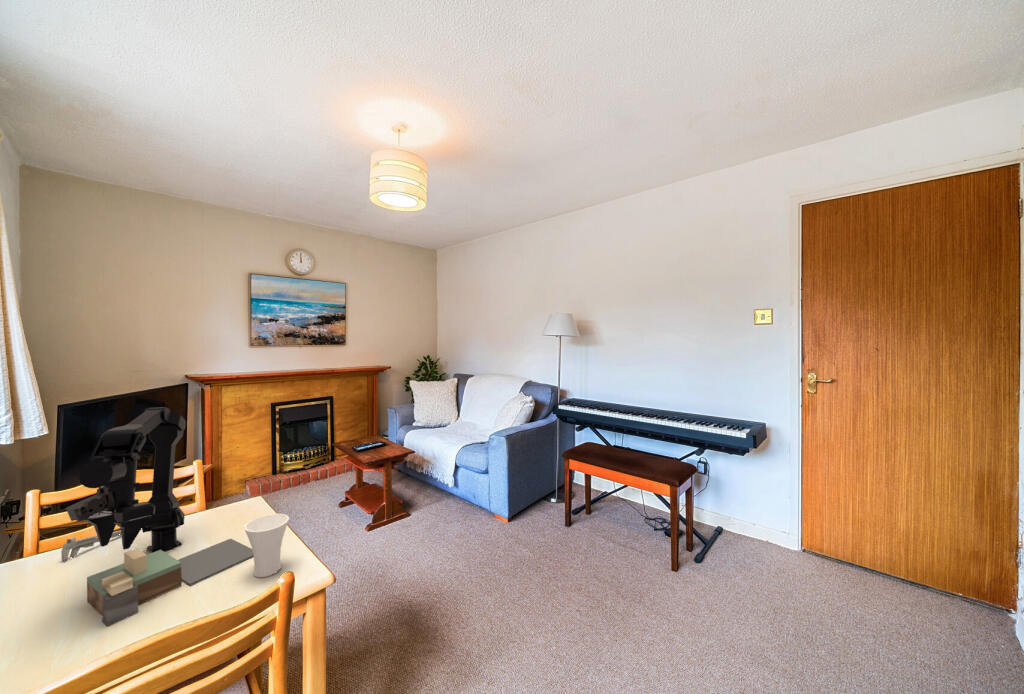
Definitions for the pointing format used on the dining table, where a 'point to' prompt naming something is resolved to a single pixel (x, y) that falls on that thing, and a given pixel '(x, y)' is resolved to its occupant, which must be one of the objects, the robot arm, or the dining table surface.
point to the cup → (266, 542)
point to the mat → (213, 561)
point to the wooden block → (117, 583)
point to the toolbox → (131, 597)
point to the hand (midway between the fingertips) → (115, 547)
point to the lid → (137, 568)
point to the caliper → (80, 545)
